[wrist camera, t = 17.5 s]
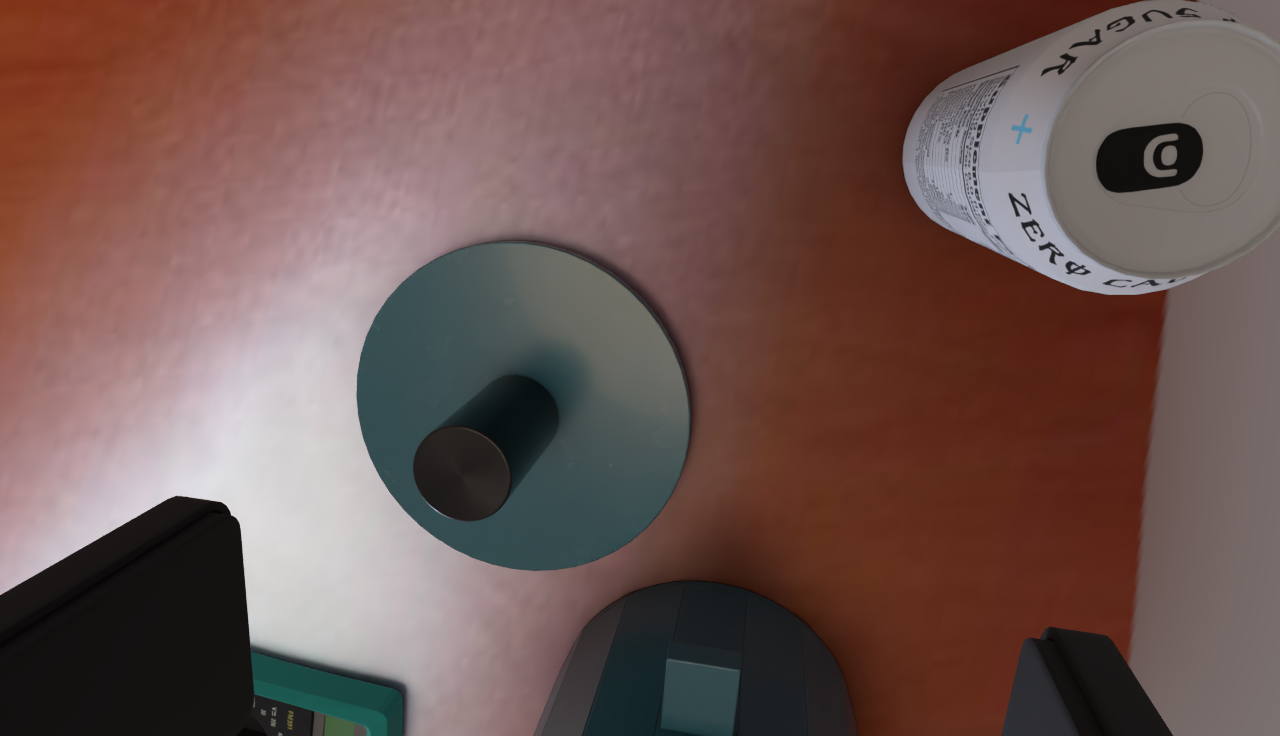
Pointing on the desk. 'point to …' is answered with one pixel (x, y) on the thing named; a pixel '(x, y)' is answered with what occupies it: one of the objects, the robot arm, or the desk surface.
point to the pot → (698, 670)
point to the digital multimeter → (318, 703)
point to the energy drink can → (1110, 148)
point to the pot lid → (524, 405)
